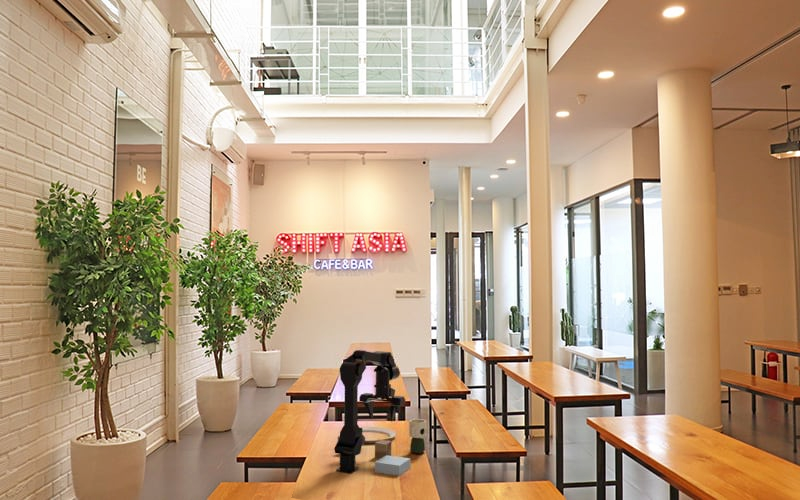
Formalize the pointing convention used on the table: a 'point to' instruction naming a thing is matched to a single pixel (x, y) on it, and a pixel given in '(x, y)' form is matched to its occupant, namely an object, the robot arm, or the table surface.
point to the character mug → (417, 435)
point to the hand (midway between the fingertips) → (381, 420)
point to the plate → (378, 430)
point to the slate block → (392, 465)
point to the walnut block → (382, 448)
